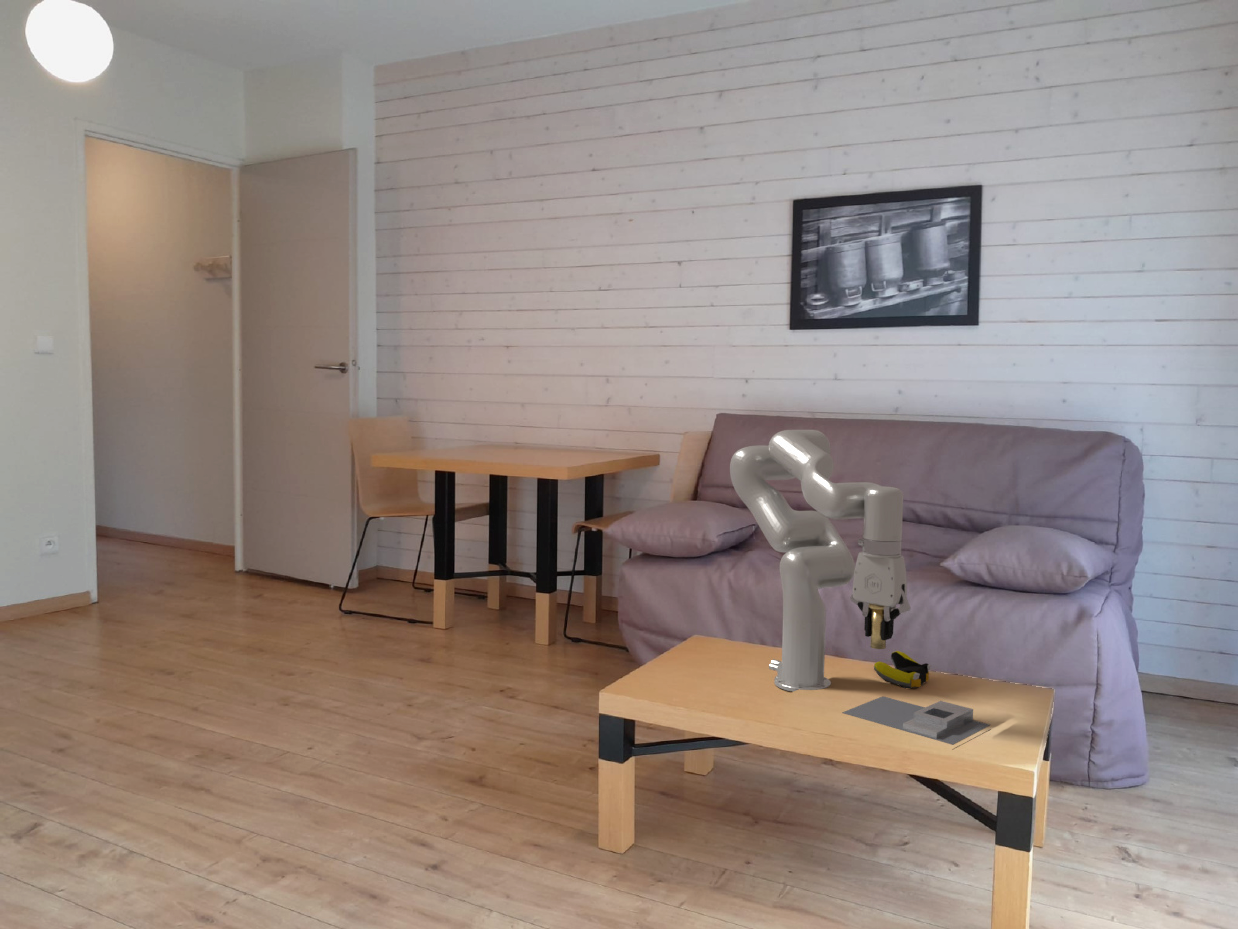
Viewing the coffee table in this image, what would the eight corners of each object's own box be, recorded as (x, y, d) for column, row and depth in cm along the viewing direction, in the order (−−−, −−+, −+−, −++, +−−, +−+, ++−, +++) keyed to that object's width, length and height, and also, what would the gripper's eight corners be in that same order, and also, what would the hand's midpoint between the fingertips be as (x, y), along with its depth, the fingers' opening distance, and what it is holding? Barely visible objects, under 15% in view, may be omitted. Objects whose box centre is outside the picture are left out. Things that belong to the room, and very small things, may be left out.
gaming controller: (870, 685, 216) (913, 694, 211) (871, 662, 216) (914, 670, 210) (893, 671, 229) (935, 678, 223) (894, 648, 228) (935, 655, 222)
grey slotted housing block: (902, 729, 185) (903, 717, 185) (940, 712, 195) (940, 700, 195) (936, 739, 180) (936, 726, 180) (972, 720, 190) (973, 709, 190)
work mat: (841, 717, 194) (841, 712, 194) (882, 700, 205) (882, 696, 205) (952, 749, 177) (952, 744, 177) (990, 729, 188) (990, 724, 188)
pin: (862, 646, 193) (864, 603, 192) (874, 643, 196) (875, 600, 196) (882, 651, 190) (883, 607, 189) (893, 647, 193) (895, 604, 192)
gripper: (836, 544, 195) (833, 632, 196) (909, 555, 183) (905, 649, 185) (856, 541, 200) (853, 626, 201) (928, 551, 188) (924, 642, 190)
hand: (878, 636), depth 193 cm, fingers closed on pin, 3 cm apart
